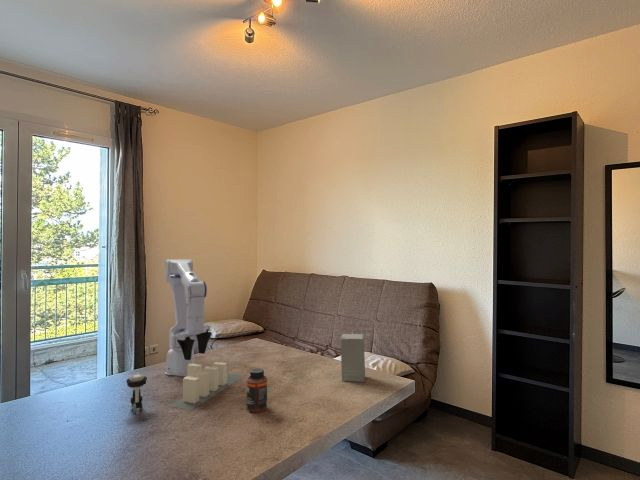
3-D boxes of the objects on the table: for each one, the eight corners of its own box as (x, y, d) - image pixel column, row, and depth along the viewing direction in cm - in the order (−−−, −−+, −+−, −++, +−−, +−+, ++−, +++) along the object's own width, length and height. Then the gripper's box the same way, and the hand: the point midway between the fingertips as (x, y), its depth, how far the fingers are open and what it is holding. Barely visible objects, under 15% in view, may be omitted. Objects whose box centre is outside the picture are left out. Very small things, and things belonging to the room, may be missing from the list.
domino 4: (203, 389, 120) (203, 368, 120) (207, 387, 122) (207, 366, 122) (214, 391, 119) (214, 369, 119) (218, 388, 121) (218, 367, 121)
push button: (148, 413, 104) (148, 378, 104) (126, 418, 101) (127, 381, 101) (145, 404, 109) (145, 371, 110) (125, 408, 107) (125, 374, 107)
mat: (168, 407, 108) (168, 406, 108) (226, 374, 136) (226, 373, 136) (191, 411, 105) (191, 410, 105) (244, 376, 133) (244, 375, 133)
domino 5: (212, 384, 125) (212, 363, 125) (215, 382, 127) (216, 361, 127) (223, 385, 124) (223, 364, 124) (226, 383, 125) (227, 363, 126)
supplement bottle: (270, 406, 109) (270, 368, 109) (261, 414, 103) (261, 374, 104) (253, 403, 111) (253, 365, 111) (242, 411, 105) (243, 372, 105)
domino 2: (193, 395, 116) (193, 373, 116) (197, 392, 117) (197, 371, 118) (205, 397, 114) (205, 374, 114) (209, 394, 116) (209, 372, 116)
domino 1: (187, 385, 125) (187, 365, 125) (191, 383, 127) (191, 363, 127) (198, 387, 123) (198, 366, 123) (201, 385, 125) (201, 364, 125)
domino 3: (182, 401, 111) (183, 378, 111) (187, 398, 113) (187, 376, 113) (194, 403, 109) (195, 380, 109) (199, 400, 111) (199, 377, 111)
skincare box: (365, 376, 134) (365, 333, 135) (364, 383, 127) (364, 338, 128) (342, 375, 136) (342, 332, 136) (340, 382, 129) (340, 337, 129)
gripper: (191, 321, 117) (190, 363, 117) (217, 313, 131) (217, 351, 131) (173, 319, 120) (172, 361, 119) (201, 312, 133) (200, 349, 133)
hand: (194, 356), depth 125 cm, fingers open, 7 cm apart
